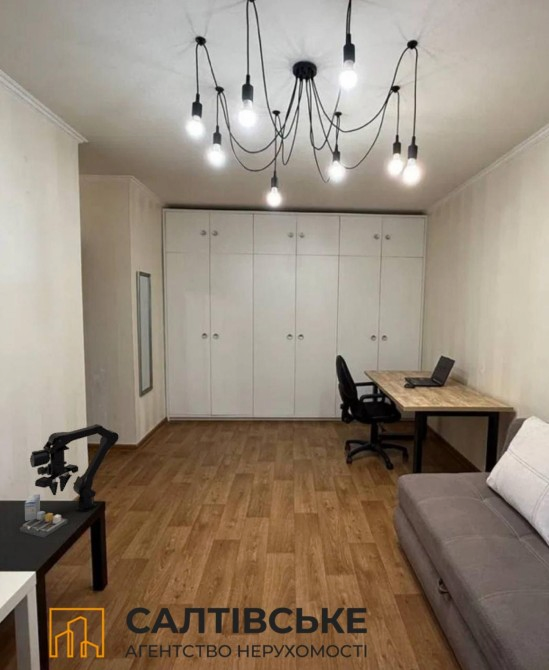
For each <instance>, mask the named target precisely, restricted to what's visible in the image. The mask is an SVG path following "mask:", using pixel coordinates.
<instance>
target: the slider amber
mask: <svg viewBox="0 0 549 670" xmlns="http://www.w3.org/2000/svg"><path fill="white" fill-rule="evenodd" d="M45 514H46V515H45V522H49V521H51V520H53V516H54V513H52V512H48V513H45Z"/></svg>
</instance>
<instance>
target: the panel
mask: <svg viewBox="0 0 549 670" xmlns="http://www.w3.org/2000/svg"><path fill="white" fill-rule="evenodd" d="M46 514H47V513H45V515H46ZM54 516H55V515H53V517H54ZM61 520H62V521H60V522H59V523H57V524H53V520H51V521H49V522H45V518H43V519H42V520H37V517H36V518H34V519H32V520H28V521H26V522H25V523H23V524H22V526H21V527H19V532H21V533H25V534H28V535H32V536H37V537H40V538H46V537H47V536H49V535H50V534H53V532H55V531H57V530H59V528H62V527H63V526H64V525H66V524H68V519H67V518H63V517H61Z"/></svg>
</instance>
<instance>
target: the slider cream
mask: <svg viewBox="0 0 549 670" xmlns="http://www.w3.org/2000/svg"><path fill="white" fill-rule="evenodd" d="M53 516H54V517H53V524H57V523H59V522H60V521H62V520H61V518H62V515H61V514H55V515H53Z"/></svg>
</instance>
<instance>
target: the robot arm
mask: <svg viewBox="0 0 549 670" xmlns="http://www.w3.org/2000/svg"><path fill="white" fill-rule="evenodd" d="M96 434H97V435H99V436H101V437H100V440H99V446H98V448H97V450H96V451H95V454H94V455H93V457H92V459H91V461H90V463H89V464H88V466H87V468H86V470H85V472H84V473H83V474H82V475H81V476H80V475H79V476H77V477H76V479H75V481H74V482H73V483H72V484H73V487H72V489H73V491H74V492H75V493H76V494H77V495H78V496H79V497H78V502H77V503H78V505H77V506H78V507H76V510H78V511H82V512H88V511H90V510H91V509H93V508H94V507H97V503H95V498H94V497H95V496H96V493H97V492H96V491H95V490H94V489H92V487H93V484H94V478H95V476H96V473H97V472H98V470H99V468H100V467H101V464H102V463H103V461H104V459H105V457H106V455H107V454H108V452H109V451H110V450H111V449H112V448H113V447H114V446H115V445H116V443H117V442H118V441H119V439H120V437H119V434H118V433H117V432H116V431H113V430H111V429H107V428H105V427H103V426H102V425H101V424H98V423H96V424H93V425H91V426H85V427H82V428H80V429H75V430H71V431H59V432H54V433H51V434H50V435H49V437H48V440H47V442H46V443H45V444H44V446H43V448H42V449H41V450H40V449H39V450H34V451H33V450H32V451H31V455H30V458H29V460H30V461H29V462H30V463H29V464H30V466H31V468H36V467H38V468H37V472H36V473H37V475H38V476H39V475H41V476H42V477H40V478H37V479H35V481H34V482H35V483H34V486H35V487H38V488H43V489H46V488H48V487H49V489H50V491H51V494H52V495H53V496H56V495H57V491H58V485H59V489H60V490H59V491H60V492H63V491H64V489H65V488H66V486H67V483H68V482H69V480H70V479H71V477H72V476H73V474H75V473H78V472H79V466H78V465H76V464H69V463H67V461H65V451H67V450H70V447H68V446H67V445H68V444H70V443H71V442H73V441H77V440H80V439H84V438H87V437H90V436H93V435H96ZM43 465H46V466H43ZM70 472H71V473H73V474H71V473H70ZM44 475H47V476H48V477H47V476H44ZM57 478H58V480H59V482H58V481H57Z"/></svg>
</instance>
